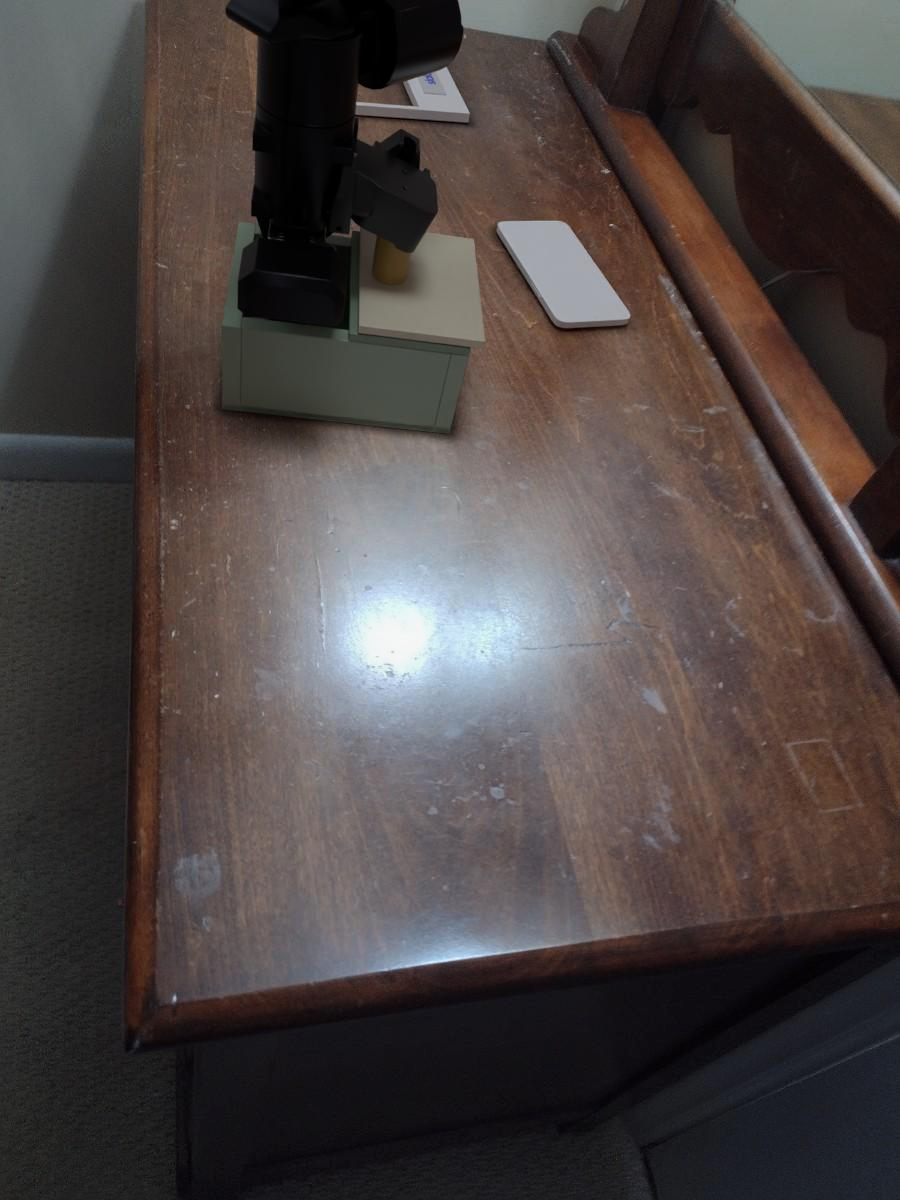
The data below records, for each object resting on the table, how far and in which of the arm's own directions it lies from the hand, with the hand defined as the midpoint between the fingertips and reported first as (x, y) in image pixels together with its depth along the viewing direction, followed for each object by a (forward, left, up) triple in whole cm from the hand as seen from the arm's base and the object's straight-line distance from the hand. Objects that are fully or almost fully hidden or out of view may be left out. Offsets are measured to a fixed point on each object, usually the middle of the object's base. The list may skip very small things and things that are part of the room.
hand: (292, 327), depth 66 cm
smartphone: (+23, +16, -3) cm, 28 cm away
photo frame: (+6, +47, -3) cm, 47 cm away
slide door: (+8, 0, +5) cm, 10 cm away
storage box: (+4, 0, -3) cm, 5 cm away
